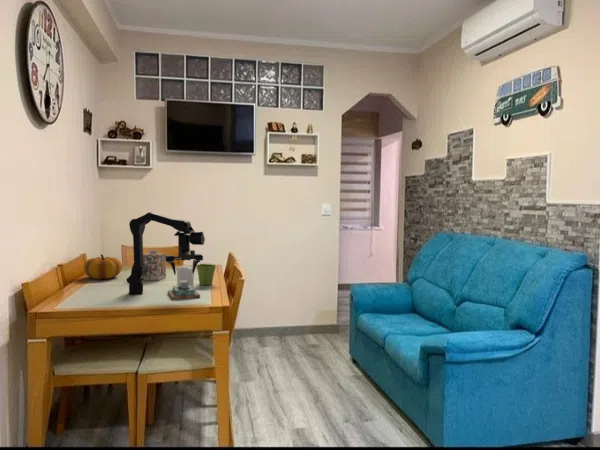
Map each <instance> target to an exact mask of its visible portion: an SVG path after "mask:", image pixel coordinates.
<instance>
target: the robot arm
mask: <svg viewBox="0 0 600 450" xmlns="http://www.w3.org/2000/svg"><path fill="white" fill-rule="evenodd" d="M150 222H155V223H159V224H162V225H165V226H169V227H171V228H172V229H174V230H176V233H174V235H173V236H175V237H177V238H178V239H177V242H178V243H177V244H178V245H177V246H178V247H177V251H178V253H177V254H178V255H177V256H175V255H173V254H167V255H165V261H166V263H168V264H169V265H170V266H171V268H172V271H173V275H175V276H177V270H176V265H175V264H176V262H175V261H178V260H179V261H191V260H192V267H191V268H192V273H193V274H194V275H195V270H196V269H197V267H196V266H197V265H199V263H201V261H203V260H204V256H203V255H202V254H201V253H196V251H195V249H192V250H191V249H190V246H191V245H193V246H197V245H198V246H204V244H205V241H206V239H205V234H204V232H203V231H195V229H194V228H193V227H192V224H191V222H190V221H189V220H187V219H178V218H176V219H175V218H172V217H168V216H167V215H166V216H165V215H162V214H158V213H156V212H155V211H154V212H152V211H150V212H147V213H145V214H143V215H141V216H140V217H137V218H132V219H131V220H129V224H128V225H129V230H130V233H131V234H132V241H133V243H132V245H133V264H132V267H131V271H130V275H129V276H128V277H127V278H126V283H127V284H128V295H129V296H130V295H134V296H135V295H143V292H144V284H143V281H144V280H143V279H144V277H145V276H146V275H147V273H148V271H147V267H148V265H145V264H144V262H143V254H144V243H143V241H144V240H143V239H144V238H143V235H144V232H145V230H146V225H147V224H149V223H150ZM190 244H191V245H190Z"/></svg>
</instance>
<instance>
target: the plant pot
mask: <svg viewBox="0 0 600 450" xmlns="http://www.w3.org/2000/svg"><path fill="white" fill-rule="evenodd" d="M216 267H217V265H216V264H211V263H210V264H209V263H207V264H206V263H204V264H201V263H200V264H197V266H196V269H197V275H198V282H199V285H200V286H211V285H212V284H213V280H214V275H215V270H216Z"/></svg>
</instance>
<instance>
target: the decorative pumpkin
mask: <svg viewBox="0 0 600 450" xmlns="http://www.w3.org/2000/svg"><path fill="white" fill-rule="evenodd" d="M82 267H83V273H84V274H85V275H86V276H87V277H88V278H90V279H95V280H97V281H99V280H102V279H103V280H110V279H113V278H116V277H117V276H119V275H120V274H121V272H122V268H123V265H122V262H121V260H119V259H118V258H117V257H111V256H105V257H104V255H103V254H100V256H97V257H91V258H89V259H87V260H85V262H84V263H83V266H82Z"/></svg>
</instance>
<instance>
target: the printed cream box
mask: <svg viewBox="0 0 600 450" xmlns="http://www.w3.org/2000/svg"><path fill="white" fill-rule="evenodd" d="M192 268H193V267H191V266H187V265H182V266H181V265H180V266H179V267H177V270H176V278H177V279H176V286H179V280H186V281H187V282H188V285H191V286H192V287H193V288H194V279H195V278H194V275H195V273H194V274H193V273H192Z"/></svg>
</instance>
